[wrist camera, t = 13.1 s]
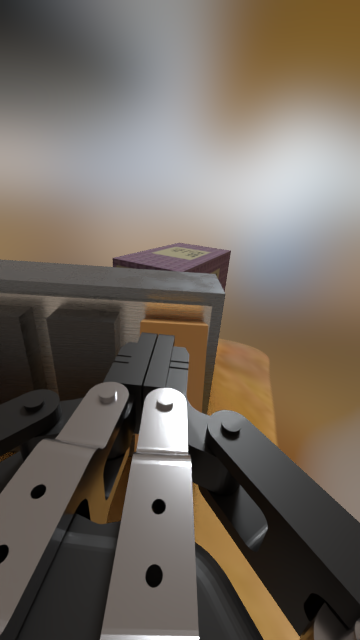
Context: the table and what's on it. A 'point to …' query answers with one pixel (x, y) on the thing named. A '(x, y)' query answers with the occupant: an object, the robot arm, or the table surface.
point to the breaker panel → (91, 322)
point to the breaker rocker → (195, 344)
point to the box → (180, 260)
